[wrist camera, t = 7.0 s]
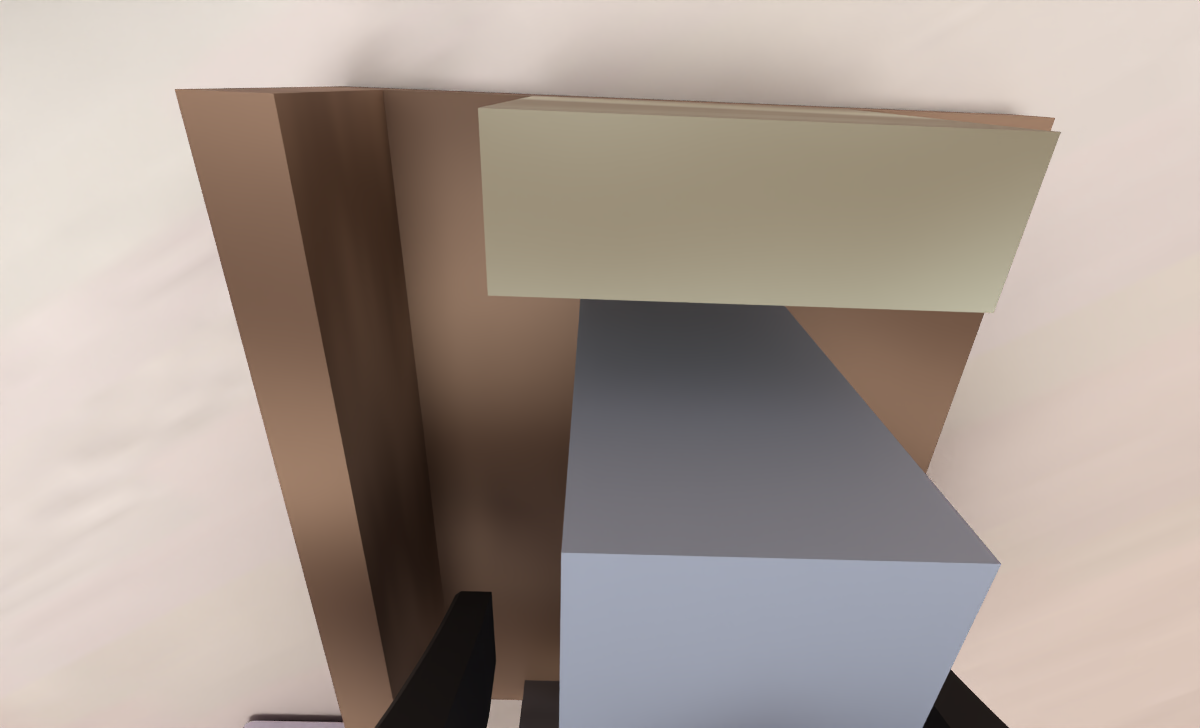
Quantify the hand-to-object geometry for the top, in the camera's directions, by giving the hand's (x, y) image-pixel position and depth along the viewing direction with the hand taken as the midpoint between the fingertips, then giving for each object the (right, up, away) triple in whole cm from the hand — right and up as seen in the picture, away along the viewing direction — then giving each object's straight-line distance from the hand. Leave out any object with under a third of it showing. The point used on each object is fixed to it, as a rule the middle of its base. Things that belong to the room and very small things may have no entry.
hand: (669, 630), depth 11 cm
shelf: (0, +3, +4) cm, 5 cm away
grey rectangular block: (0, +2, +4) cm, 4 cm away
